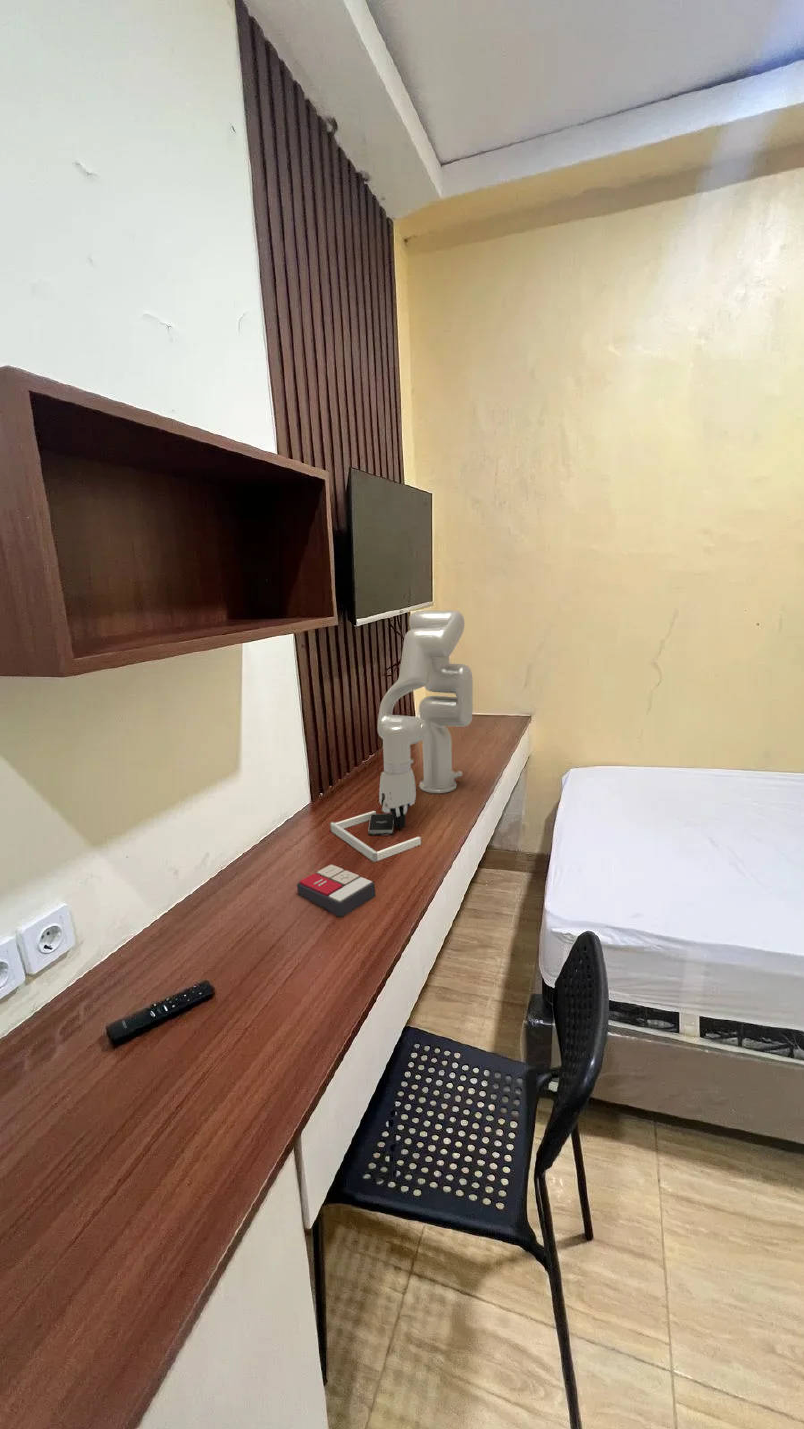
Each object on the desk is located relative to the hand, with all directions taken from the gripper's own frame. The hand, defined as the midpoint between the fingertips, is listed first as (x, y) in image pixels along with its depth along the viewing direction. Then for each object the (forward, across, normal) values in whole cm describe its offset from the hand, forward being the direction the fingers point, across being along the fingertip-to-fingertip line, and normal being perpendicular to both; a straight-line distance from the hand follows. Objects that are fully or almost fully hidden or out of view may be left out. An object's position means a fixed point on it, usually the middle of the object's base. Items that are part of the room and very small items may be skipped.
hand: (399, 826), depth 162 cm
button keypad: (+1, +31, +18) cm, 36 cm away
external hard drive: (+1, +3, -4) cm, 6 cm away
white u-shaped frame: (+1, +9, 0) cm, 9 cm away
